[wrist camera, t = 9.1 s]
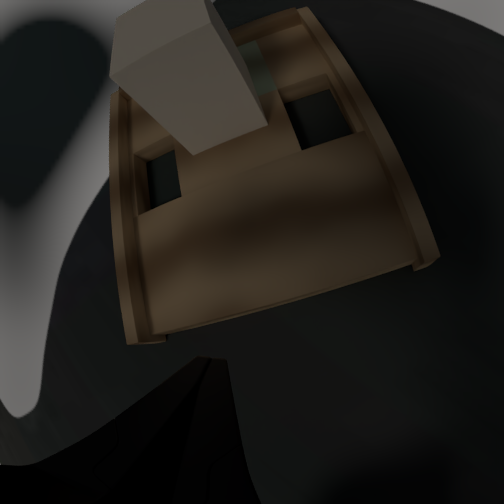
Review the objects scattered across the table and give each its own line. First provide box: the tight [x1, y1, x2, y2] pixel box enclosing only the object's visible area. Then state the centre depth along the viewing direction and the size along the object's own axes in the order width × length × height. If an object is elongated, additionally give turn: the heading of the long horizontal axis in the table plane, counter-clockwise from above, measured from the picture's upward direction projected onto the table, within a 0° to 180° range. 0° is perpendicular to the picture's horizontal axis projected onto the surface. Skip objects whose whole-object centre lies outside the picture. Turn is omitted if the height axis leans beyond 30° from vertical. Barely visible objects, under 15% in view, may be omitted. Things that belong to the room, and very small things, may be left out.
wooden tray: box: [109, 7, 440, 345], centre depth 23 cm, size 24×20×4 cm
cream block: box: [109, 0, 268, 155], centre depth 19 cm, size 7×6×10 cm
